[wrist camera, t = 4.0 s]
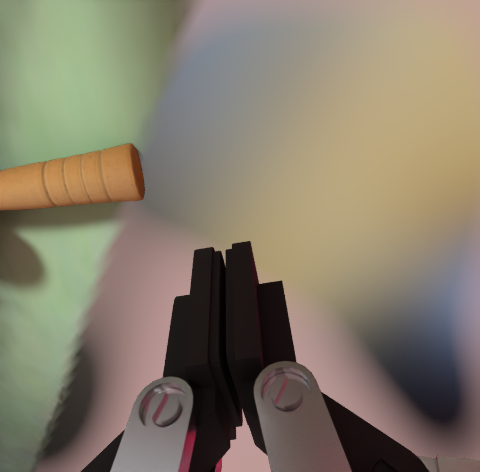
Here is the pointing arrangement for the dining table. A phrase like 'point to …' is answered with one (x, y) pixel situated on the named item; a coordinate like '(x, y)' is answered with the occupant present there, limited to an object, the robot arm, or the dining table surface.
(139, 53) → the dining table surface
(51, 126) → the dining table surface
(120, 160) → the kendama
